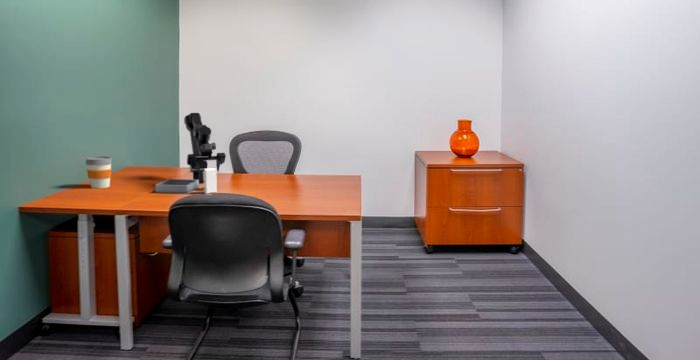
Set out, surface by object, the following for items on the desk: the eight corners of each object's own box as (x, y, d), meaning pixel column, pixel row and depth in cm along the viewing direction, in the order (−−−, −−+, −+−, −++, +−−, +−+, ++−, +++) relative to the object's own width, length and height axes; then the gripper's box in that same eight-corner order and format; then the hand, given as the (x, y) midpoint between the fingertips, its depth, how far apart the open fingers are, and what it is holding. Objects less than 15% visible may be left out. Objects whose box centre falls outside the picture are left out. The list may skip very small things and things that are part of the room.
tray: (169, 186, 321) (168, 178, 320) (199, 187, 319) (198, 179, 319) (155, 192, 303) (155, 184, 302) (187, 193, 302) (186, 185, 301)
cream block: (204, 192, 305) (204, 168, 303) (214, 191, 307) (214, 168, 305) (206, 194, 300) (206, 170, 298) (216, 193, 302) (216, 169, 300)
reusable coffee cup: (112, 188, 314) (110, 159, 312) (86, 189, 311) (84, 160, 308) (113, 184, 326) (112, 156, 324) (88, 185, 322) (86, 156, 320)
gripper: (186, 138, 303) (191, 162, 295) (224, 136, 310) (230, 161, 302) (184, 152, 311) (189, 176, 303) (221, 150, 319) (226, 174, 311)
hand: (209, 171), depth 305 cm, fingers open, 9 cm apart
